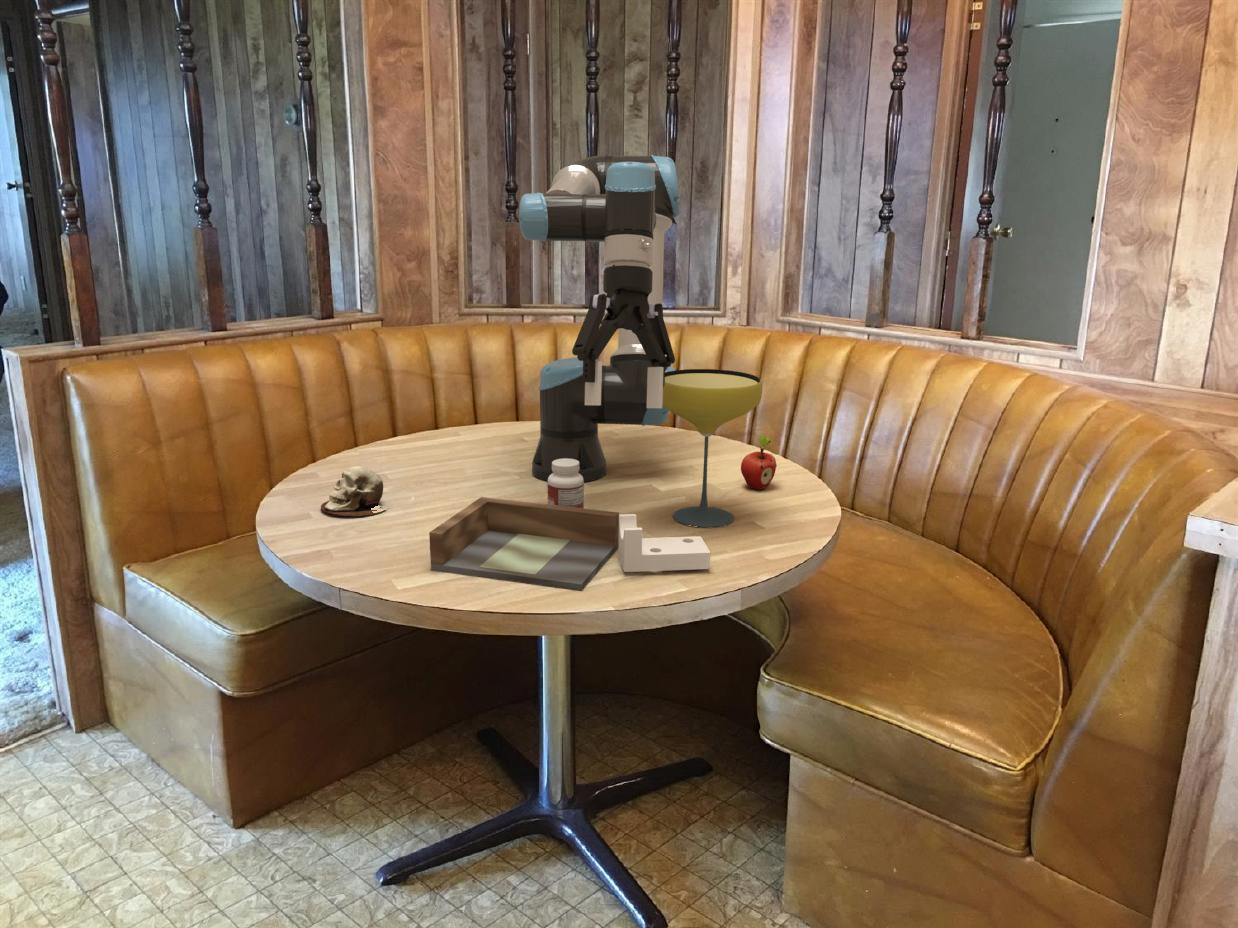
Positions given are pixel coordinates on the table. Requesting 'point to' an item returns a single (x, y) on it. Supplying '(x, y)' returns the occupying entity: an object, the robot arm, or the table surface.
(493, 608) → the table surface
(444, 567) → the tray
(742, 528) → the table surface
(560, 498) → the pill bottle
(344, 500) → the skull
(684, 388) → the cocktail glass
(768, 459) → the apple
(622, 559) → the bracket
